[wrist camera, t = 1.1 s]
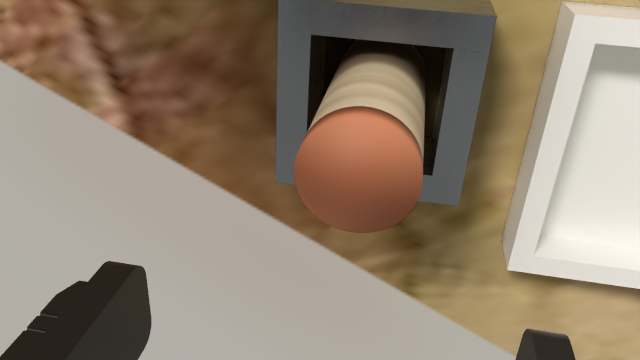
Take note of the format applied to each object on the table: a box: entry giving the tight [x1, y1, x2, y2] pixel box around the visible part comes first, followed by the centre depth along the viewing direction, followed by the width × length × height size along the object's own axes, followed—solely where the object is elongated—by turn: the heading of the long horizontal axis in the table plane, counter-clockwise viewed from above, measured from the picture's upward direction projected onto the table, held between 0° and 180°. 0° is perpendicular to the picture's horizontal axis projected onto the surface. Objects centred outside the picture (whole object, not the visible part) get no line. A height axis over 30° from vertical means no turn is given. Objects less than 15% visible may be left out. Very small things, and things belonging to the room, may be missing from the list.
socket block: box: [276, 0, 497, 206], centre depth 24 cm, size 8×8×4 cm
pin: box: [294, 39, 426, 233], centre depth 22 cm, size 4×4×10 cm
